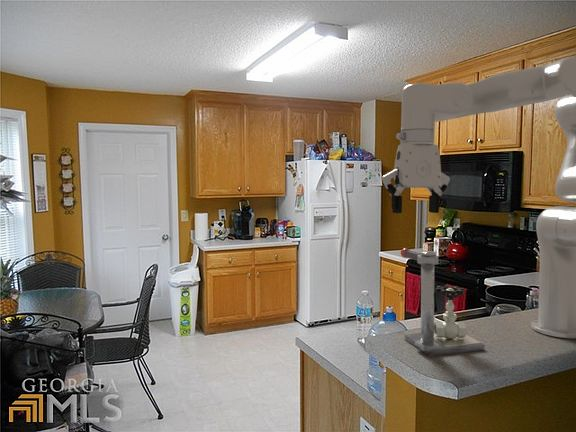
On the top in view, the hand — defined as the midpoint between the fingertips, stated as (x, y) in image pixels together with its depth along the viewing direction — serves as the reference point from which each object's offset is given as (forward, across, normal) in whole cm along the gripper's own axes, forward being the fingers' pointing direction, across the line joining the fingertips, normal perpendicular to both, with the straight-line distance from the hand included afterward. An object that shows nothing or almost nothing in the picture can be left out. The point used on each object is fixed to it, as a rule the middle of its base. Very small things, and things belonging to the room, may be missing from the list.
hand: (415, 212), depth 104 cm
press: (+31, +7, -3) cm, 32 cm away
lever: (+11, 0, -2) cm, 11 cm away
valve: (+30, +8, -3) cm, 31 cm away
